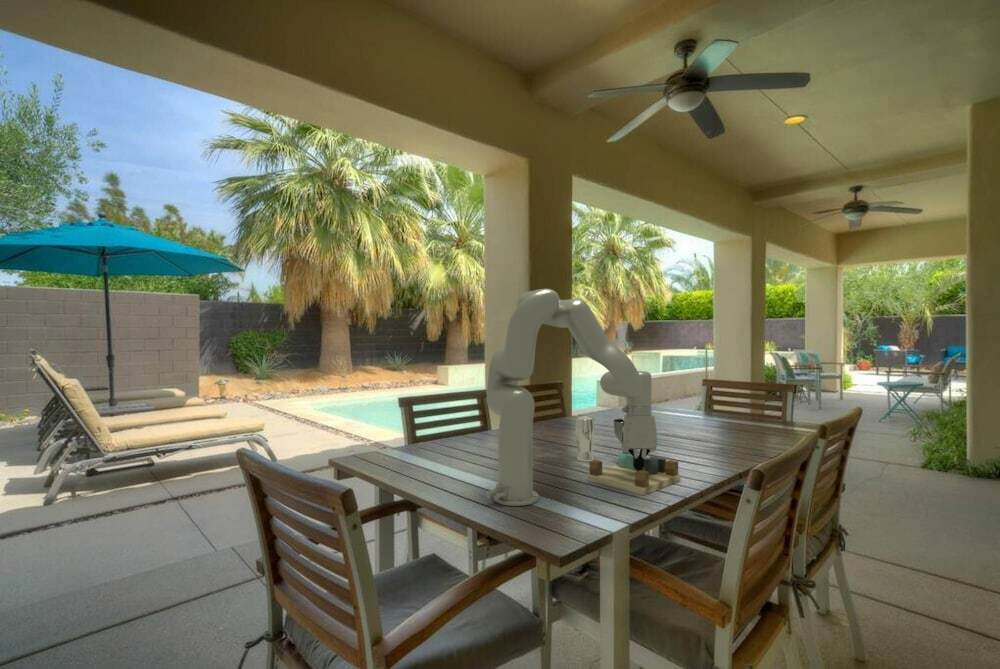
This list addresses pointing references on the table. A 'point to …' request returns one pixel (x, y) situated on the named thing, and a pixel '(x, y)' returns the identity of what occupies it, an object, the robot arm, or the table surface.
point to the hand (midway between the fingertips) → (638, 470)
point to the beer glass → (585, 438)
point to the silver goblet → (618, 430)
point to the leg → (649, 463)
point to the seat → (635, 476)
